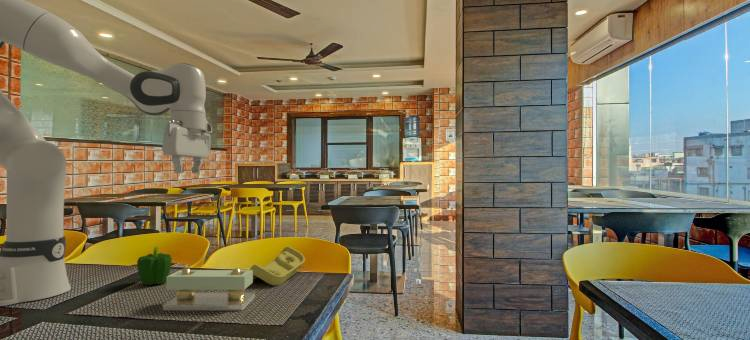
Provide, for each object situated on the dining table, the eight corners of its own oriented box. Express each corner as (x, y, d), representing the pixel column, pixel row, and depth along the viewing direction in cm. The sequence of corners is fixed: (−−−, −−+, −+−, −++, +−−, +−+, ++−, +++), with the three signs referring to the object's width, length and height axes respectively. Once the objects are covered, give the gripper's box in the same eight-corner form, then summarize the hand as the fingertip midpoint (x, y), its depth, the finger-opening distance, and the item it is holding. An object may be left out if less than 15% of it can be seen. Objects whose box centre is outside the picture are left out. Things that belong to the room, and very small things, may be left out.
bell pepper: (161, 287, 104) (161, 250, 104) (131, 287, 105) (131, 250, 105) (177, 279, 113) (177, 245, 113) (149, 279, 113) (150, 245, 113)
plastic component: (279, 279, 105) (250, 261, 107) (270, 301, 106) (240, 284, 108) (310, 258, 124) (284, 243, 126) (301, 277, 125) (276, 262, 127)
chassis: (162, 310, 87) (162, 273, 87) (182, 297, 96) (182, 264, 96) (242, 310, 87) (242, 274, 87) (254, 297, 96) (254, 264, 96)
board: (252, 282, 95) (252, 270, 95) (244, 289, 89) (244, 276, 89) (179, 282, 95) (179, 270, 95) (166, 289, 89) (166, 276, 89)
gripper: (180, 118, 97) (180, 173, 96) (214, 128, 117) (214, 173, 117) (155, 118, 97) (155, 173, 96) (194, 127, 117) (193, 173, 117)
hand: (187, 173), depth 107 cm, fingers open, 8 cm apart
